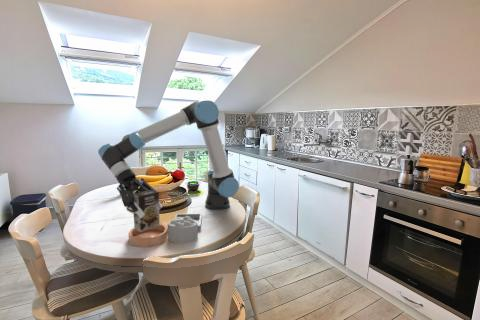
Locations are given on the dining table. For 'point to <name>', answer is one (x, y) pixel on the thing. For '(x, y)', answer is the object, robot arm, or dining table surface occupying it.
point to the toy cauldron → (193, 188)
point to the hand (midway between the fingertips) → (152, 212)
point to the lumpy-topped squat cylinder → (183, 229)
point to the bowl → (148, 236)
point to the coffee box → (147, 210)
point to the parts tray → (192, 217)
